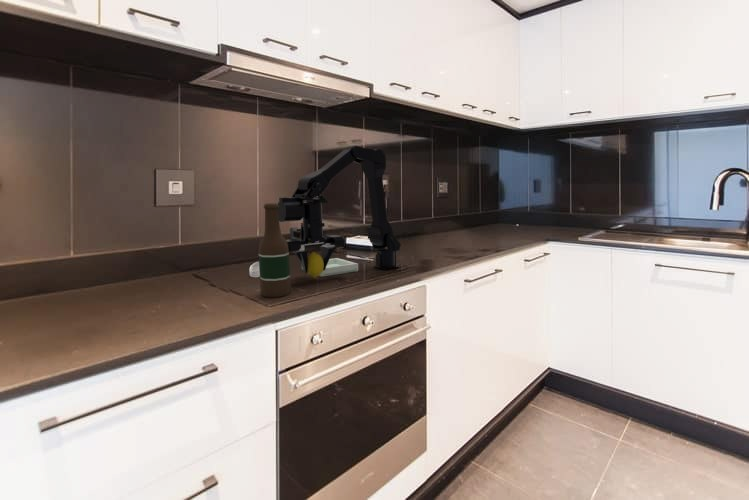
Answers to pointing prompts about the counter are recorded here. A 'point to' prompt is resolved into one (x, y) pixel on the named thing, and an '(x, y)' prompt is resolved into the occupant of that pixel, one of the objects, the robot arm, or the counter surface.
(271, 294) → the beer bottle
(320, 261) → the lemon
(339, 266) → the tray
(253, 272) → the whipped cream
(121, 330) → the counter surface
